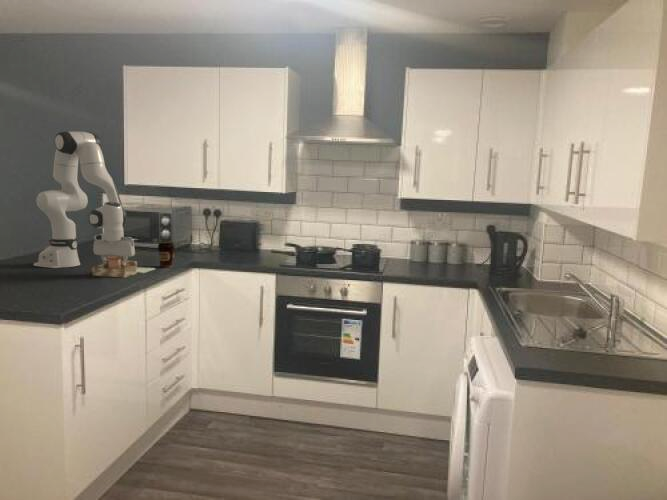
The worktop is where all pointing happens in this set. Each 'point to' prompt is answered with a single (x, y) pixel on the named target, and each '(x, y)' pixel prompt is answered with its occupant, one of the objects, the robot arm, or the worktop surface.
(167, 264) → the dark brown jar
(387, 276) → the worktop surface
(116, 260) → the pot
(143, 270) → the mat
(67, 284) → the worktop surface
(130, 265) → the wooden compartment tray
